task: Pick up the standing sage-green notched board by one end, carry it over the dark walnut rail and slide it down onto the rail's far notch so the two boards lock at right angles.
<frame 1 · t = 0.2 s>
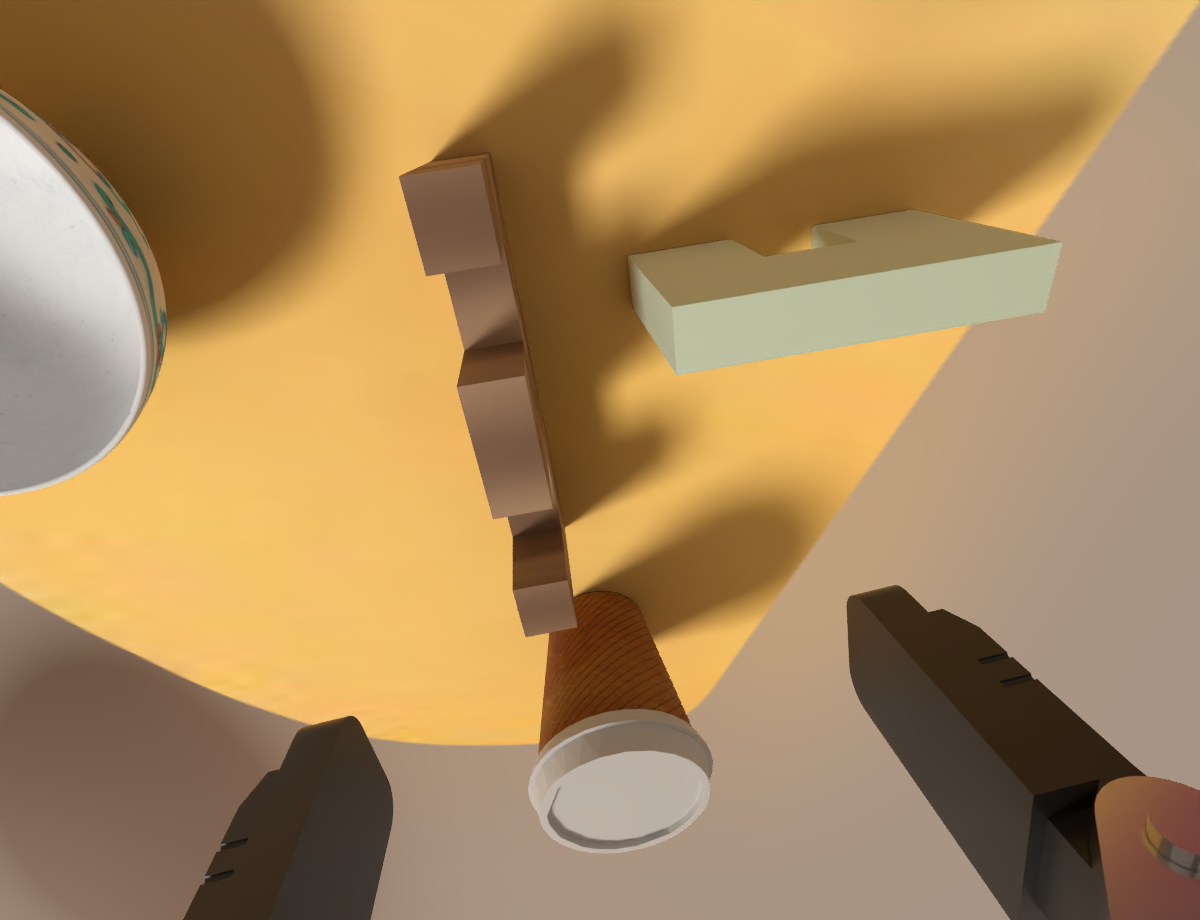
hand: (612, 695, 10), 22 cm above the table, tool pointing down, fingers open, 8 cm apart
rail: (509, 376, 30), on the table
cross piece: (771, 259, 29), on the table
chinaware: (43, 244, 25), on the table
disposable coffee cup: (595, 624, 40), on the table
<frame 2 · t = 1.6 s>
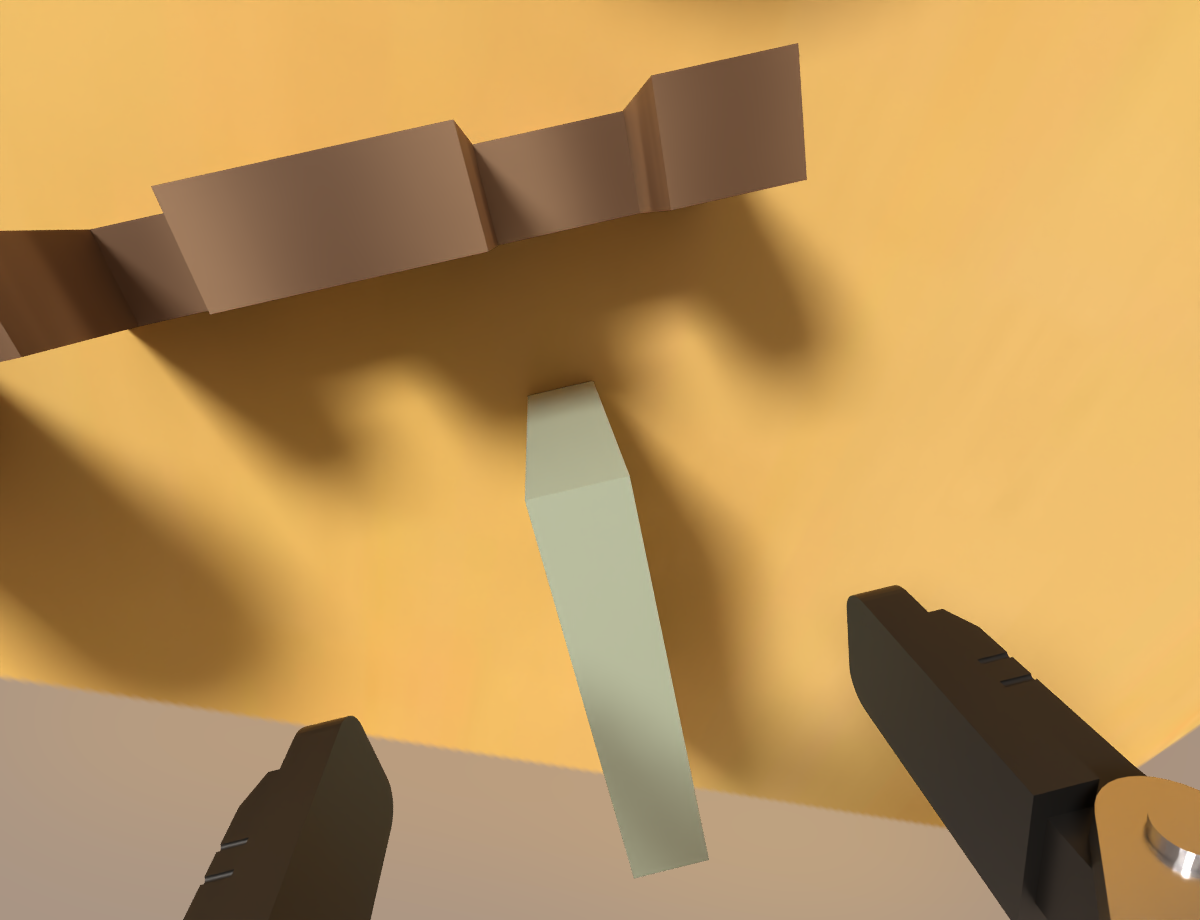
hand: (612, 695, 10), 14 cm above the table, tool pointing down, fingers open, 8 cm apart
rail: (405, 221, 19), on the table
cross piece: (598, 546, 25), on the table
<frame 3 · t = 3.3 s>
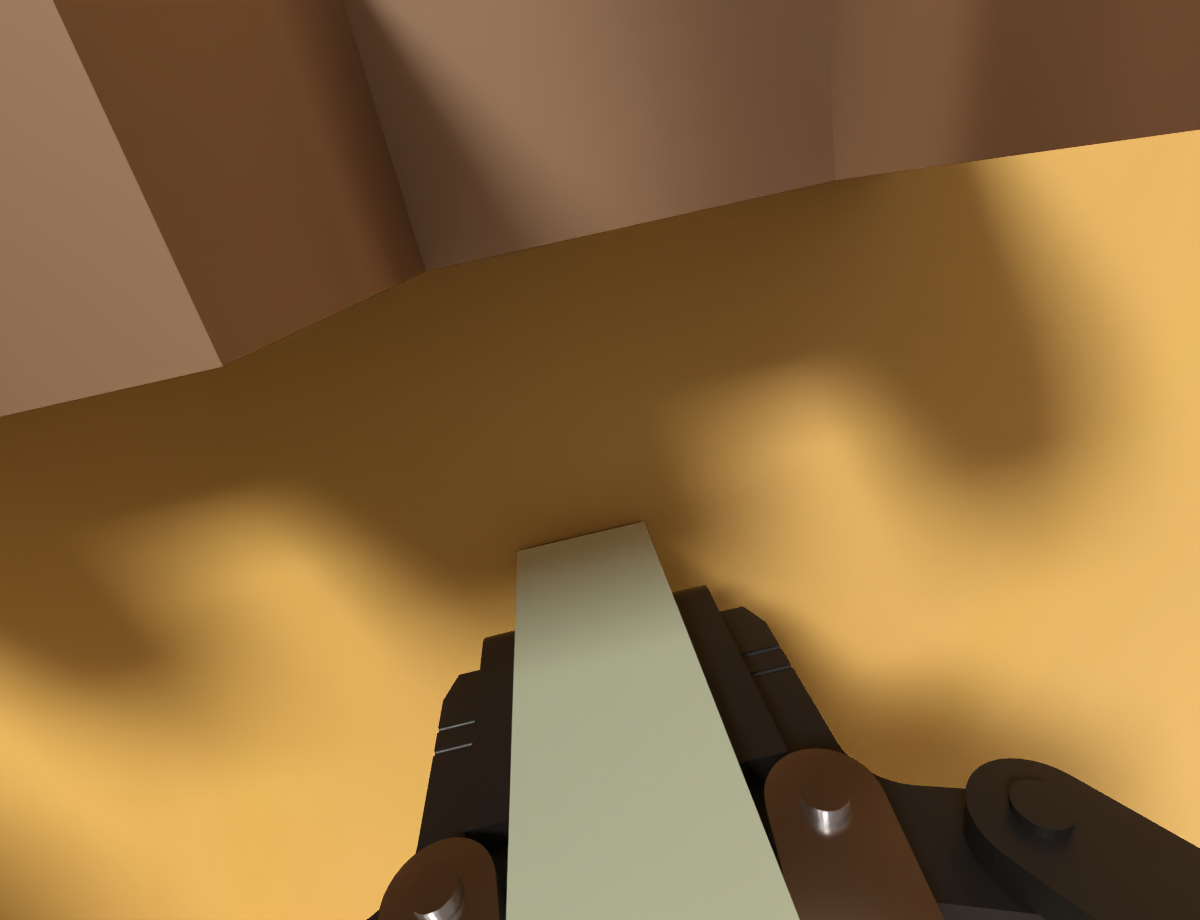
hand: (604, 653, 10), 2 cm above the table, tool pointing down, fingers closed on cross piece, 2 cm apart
rail: (242, 208, 9), on the table
cross piece: (643, 785, 14), on the table, touching gripper
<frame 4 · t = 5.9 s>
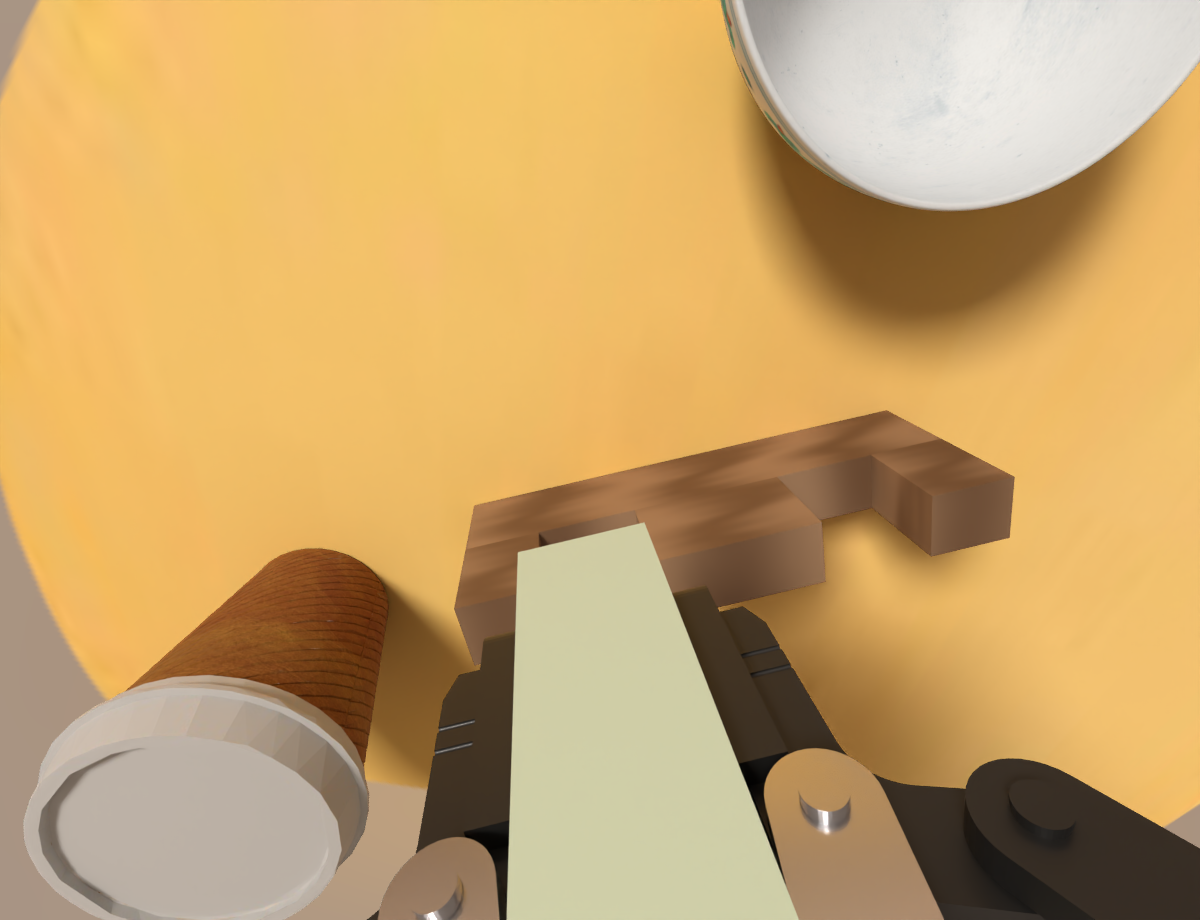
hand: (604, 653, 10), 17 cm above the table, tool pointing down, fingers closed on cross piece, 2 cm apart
rail: (686, 481, 28), on the table
cross piece: (643, 786, 14), point 15 cm above the table, touching gripper
disposable coffee cup: (322, 601, 29), on the table
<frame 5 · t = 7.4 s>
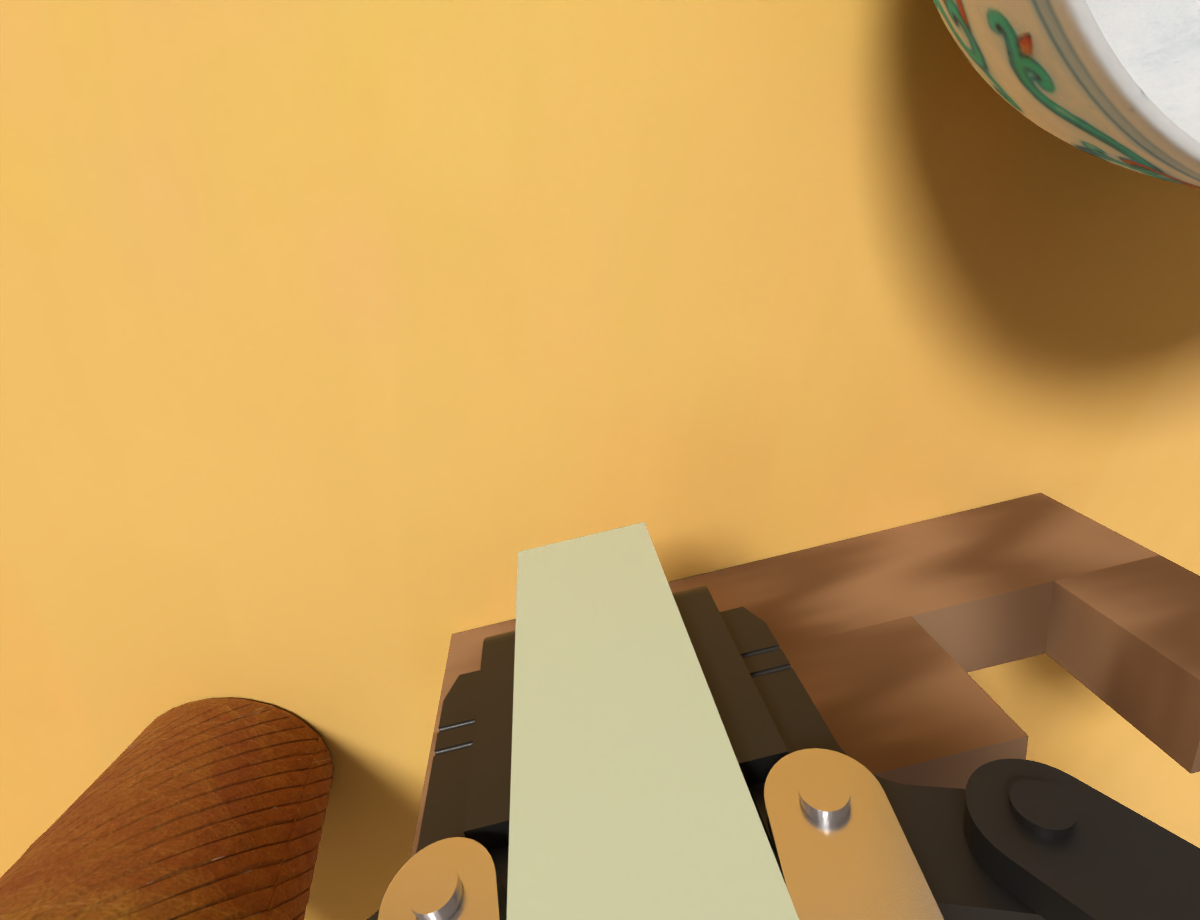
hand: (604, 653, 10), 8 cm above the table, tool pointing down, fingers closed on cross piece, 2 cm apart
rail: (754, 593, 20), on the table
cross piece: (643, 786, 14), point 6 cm above the table, touching gripper
disposable coffee cup: (239, 762, 20), on the table
when the fingers open (3 cm above the table, at t = 8.7 s): cross piece stays where it is, on the table.
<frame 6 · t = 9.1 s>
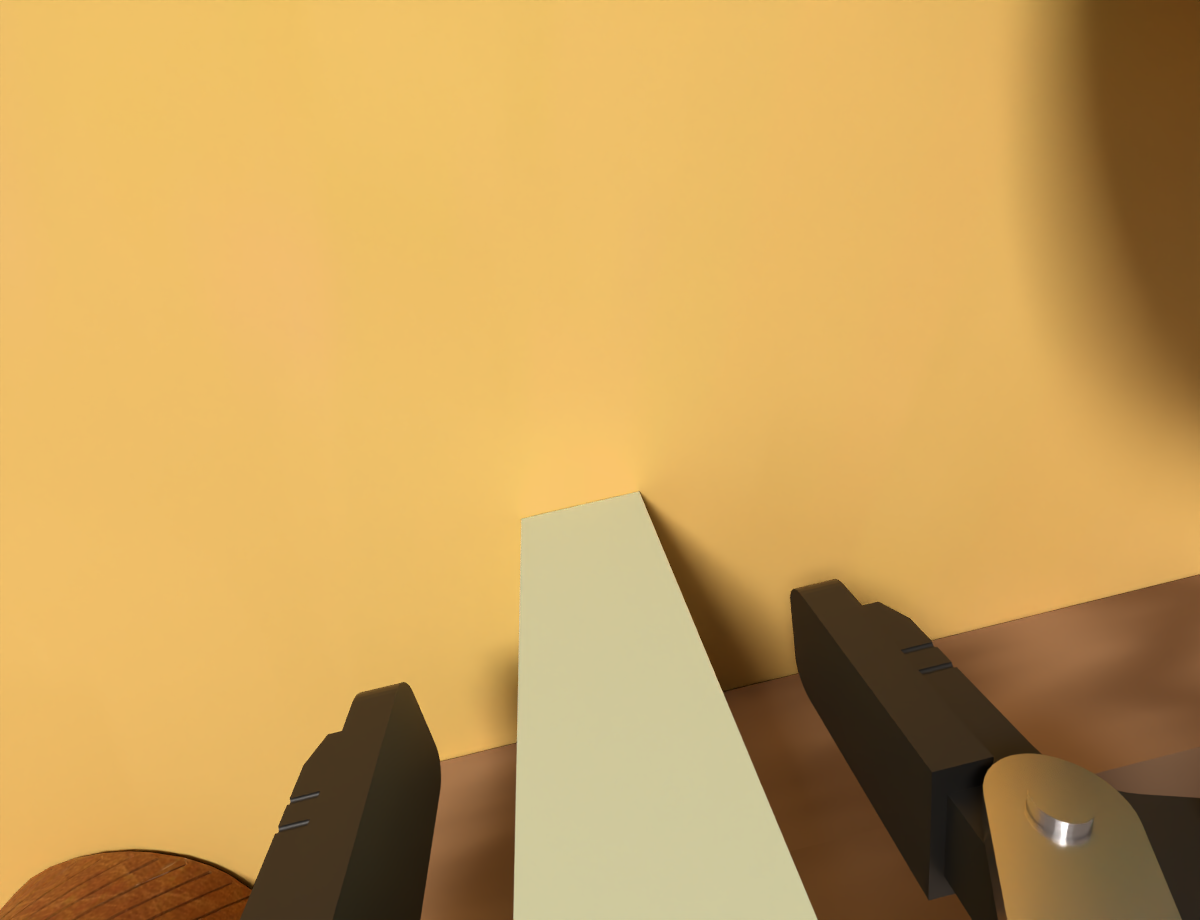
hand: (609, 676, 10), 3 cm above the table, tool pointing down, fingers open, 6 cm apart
rail: (824, 705, 15), on the table
cross piece: (638, 746, 15), on the table
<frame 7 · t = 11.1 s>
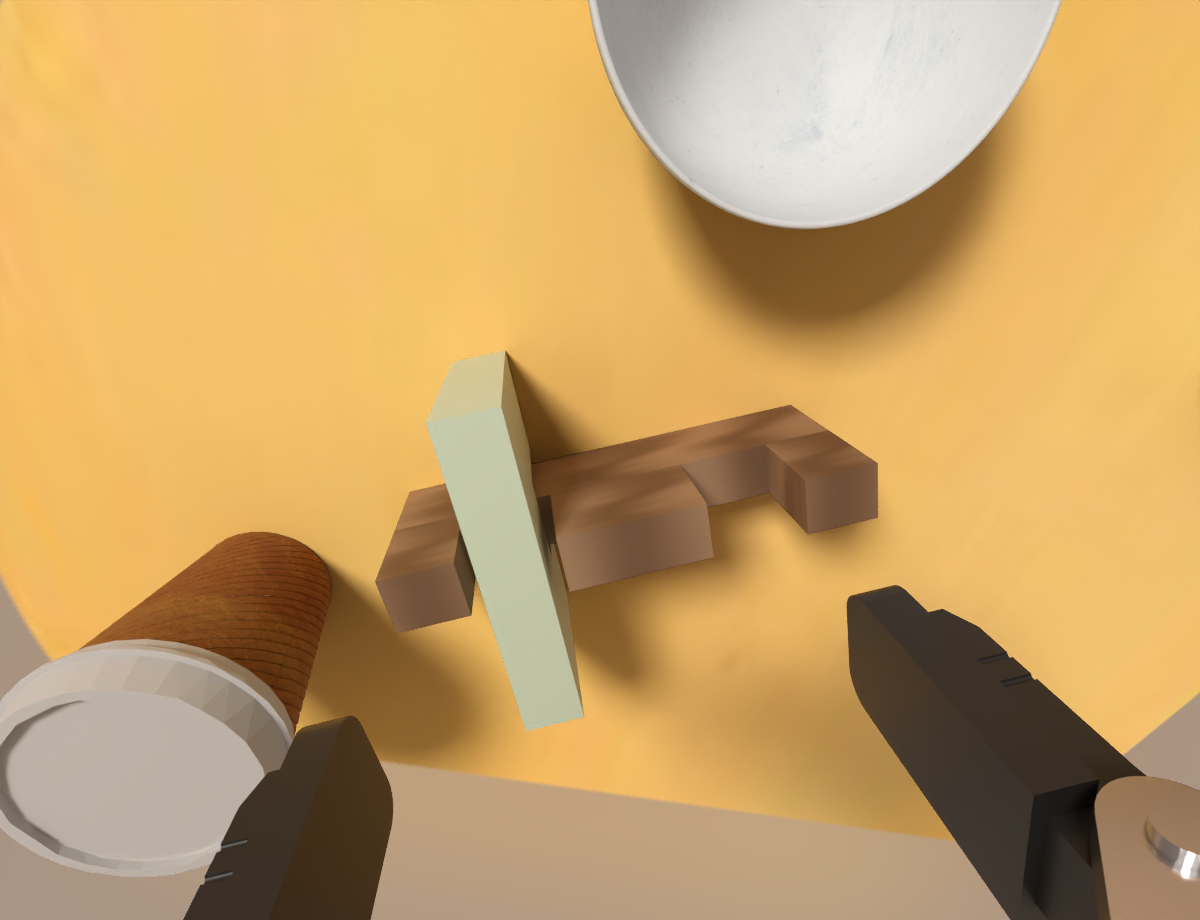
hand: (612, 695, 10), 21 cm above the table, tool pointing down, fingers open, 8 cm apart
rail: (607, 469, 31), on the table
cross piece: (514, 488, 30), on the table
chinaware: (744, 31, 24), on the table
disposable coffee cup: (268, 582, 31), on the table
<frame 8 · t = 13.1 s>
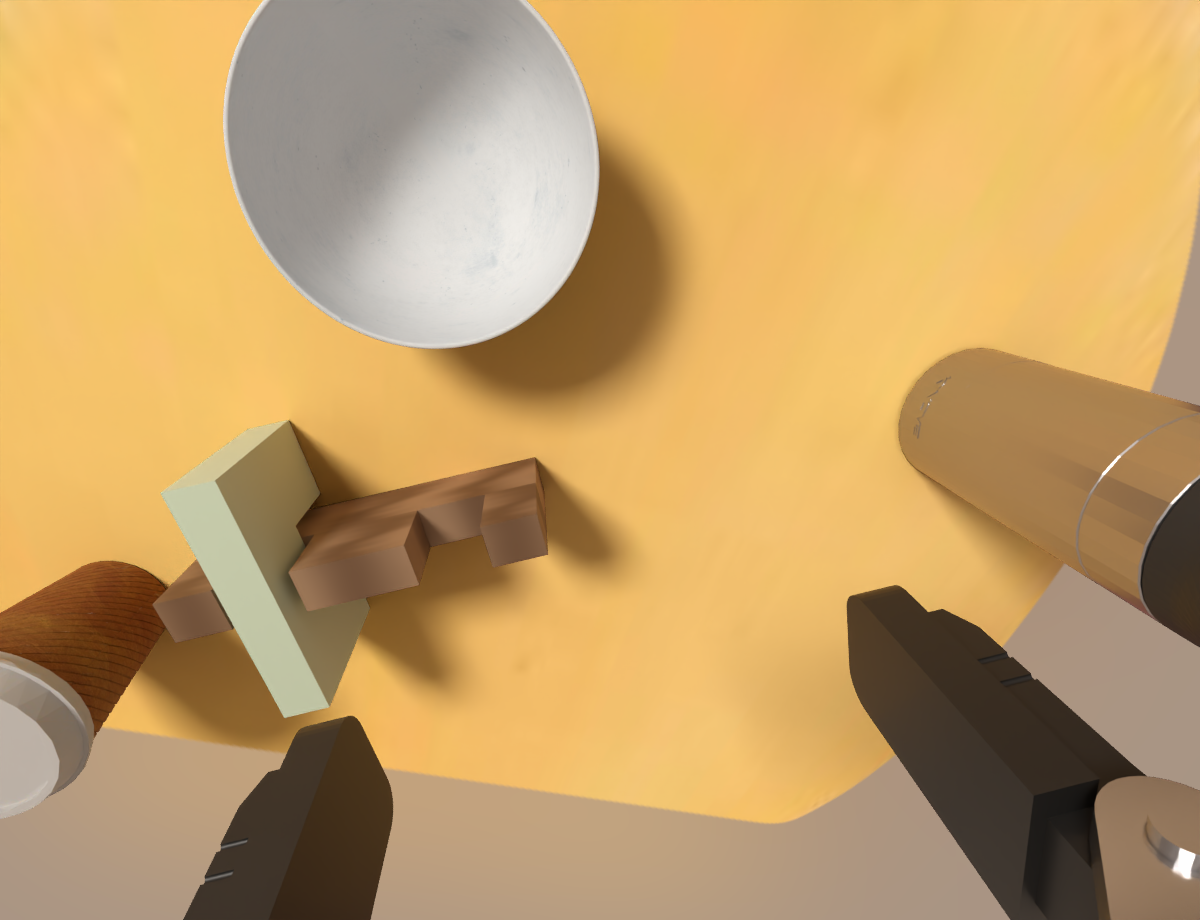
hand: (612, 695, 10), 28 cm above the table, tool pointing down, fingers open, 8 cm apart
rail: (388, 509, 38), on the table
cross piece: (313, 525, 38), on the table
chinaware: (444, 181, 32), on the table
disposable coffee cup: (121, 600, 39), on the table
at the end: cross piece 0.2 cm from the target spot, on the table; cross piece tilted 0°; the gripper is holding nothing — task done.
